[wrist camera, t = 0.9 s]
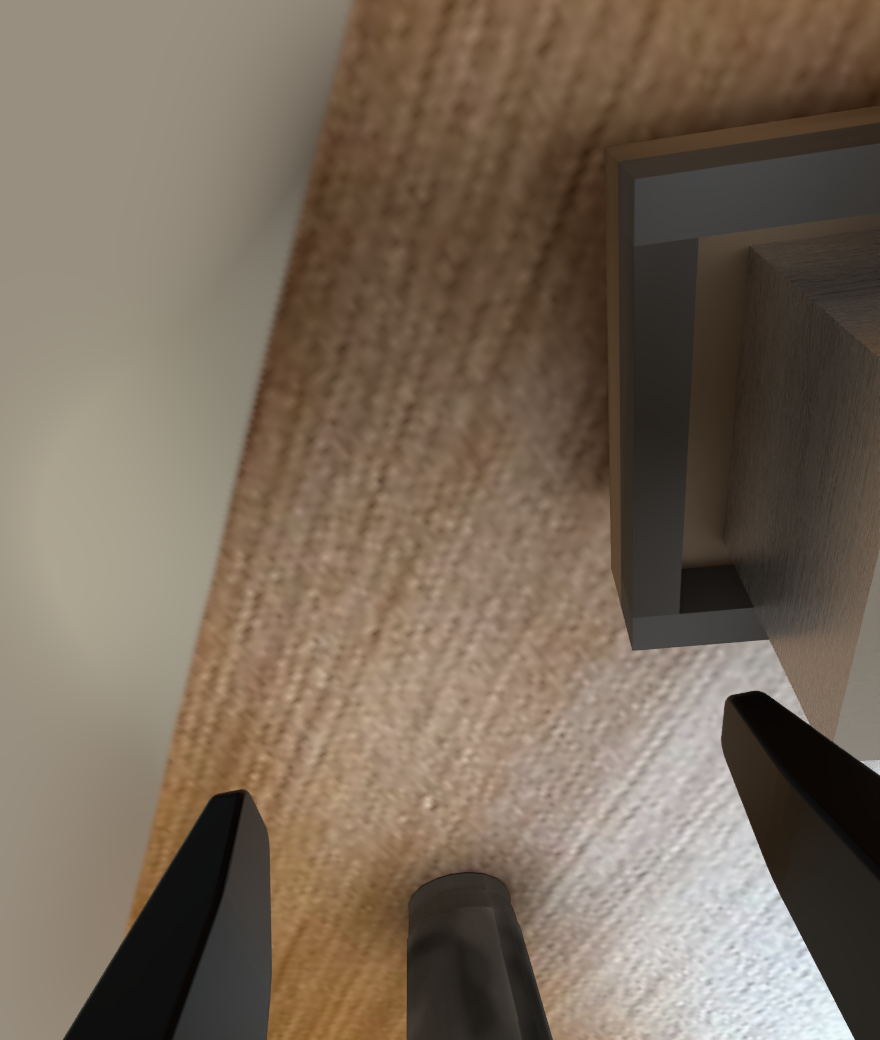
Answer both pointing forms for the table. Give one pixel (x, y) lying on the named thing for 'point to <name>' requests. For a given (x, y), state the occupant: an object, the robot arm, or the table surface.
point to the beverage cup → (469, 965)
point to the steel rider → (813, 474)
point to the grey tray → (702, 342)
